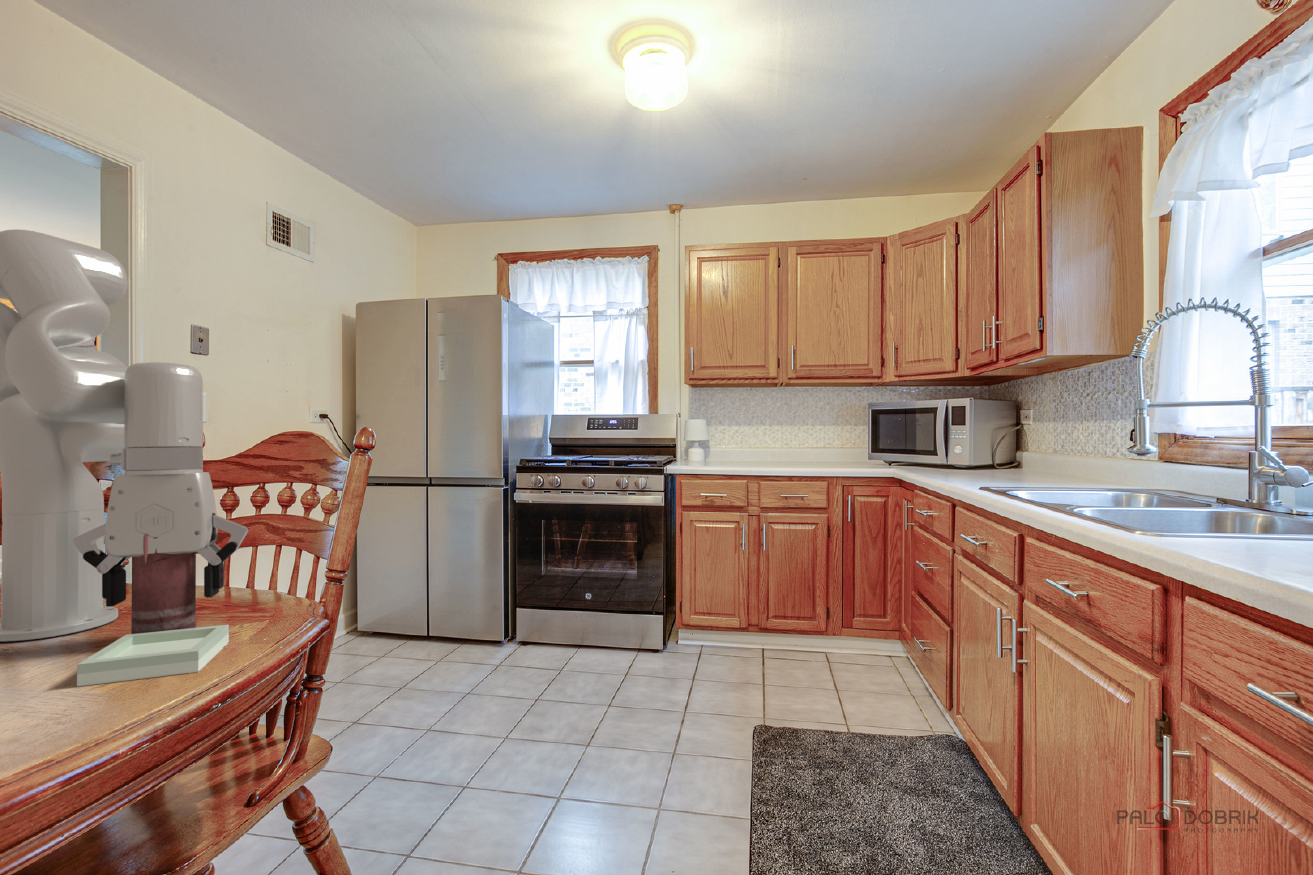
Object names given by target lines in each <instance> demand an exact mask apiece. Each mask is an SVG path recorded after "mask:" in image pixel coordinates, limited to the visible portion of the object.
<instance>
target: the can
mask: <svg viewBox="0 0 1313 875" xmlns="http://www.w3.org/2000/svg"><path fill="white" fill-rule="evenodd" d="M148 536H149V535H148V534H146V533H145V535H144V537H143V551H144V555H143V556H139V557H131V632H130V634H138V633H149V632H159V631H169V630H179V629H189V628H197V627H196V618H197V617H196V616H197V615H196V612H197V611H196V610H197V609H196V607H197V604H196V603H197V602H196V601H197V600H196V598H197V597H196V596H197V593H196V592H197V591H196V590H197V582H196V581H197V580H196V579H197V578H196V577H197V571H196V570H197V551H196V552H192V553H183V554H165V553H157V548H156V551H155V553H152V554H148ZM156 538H158V537H154V539H156Z"/></svg>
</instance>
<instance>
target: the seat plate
mask: <svg viewBox="0 0 1313 875" xmlns="http://www.w3.org/2000/svg"><path fill="white" fill-rule="evenodd" d="M229 640H230V624H222V625H221V624H220V625H211V626H202V627H201V626H200V627H196V628H189V629H179V630H169V631H159V632H149V633H138V634H131V633H130V634H125V635H123V636H121V637H119V638H118V639H117V640H115V641H113V642H112V643H109V645H107V646H104V647H103V648H102V649H100V650H99V651H97V652H95V653H94V654H92V655H90V656H88V657H87V658H86V659H84V660H81V662H79V663H77V664H76V687H84V686H92V685H93V686H94V685H101V684H109V683H118V682H124V681H125V682H126V681H134V680H140V679H149V678H156V677H157V678H159V677H166V676H175V675H182V674H191V673H199V672H200V671H202V669H203V668H204V667H205V666H206V665H207V664H208V663H209V662H210V661H211V660H212V659H213V658H215V656H216V655H218V654H219V653H220V652H221V651H222V650H223V649H224V648H225V647H226V646H227V645H229V643H228V642H230V641H229ZM224 646H225V647H224ZM223 647H224V648H223Z"/></svg>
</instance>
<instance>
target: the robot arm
mask: <svg viewBox="0 0 1313 875" xmlns="http://www.w3.org/2000/svg"><path fill="white" fill-rule="evenodd" d="M127 274H128V273H127V272H126V269H125V267H124V266H123V264H122V263H121V262H120V261H119V260H118V259H117V258H116V257H115V256H114V255H112V254H111V253H109V252H107V251H105V250H104V249H102V248H101V249H100V248H97V247H94V246H92V245H91V246H90V245H87V244H83V243H79V242H76V241H71V240H68V239H64V238H61V237H58V236H54V235H50V234H47V233H43V232H39V231H34V230H28V229H17V228H16V229H6V230H1V231H0V299H3V300H7V301H9V302H10V304H12V306H13V308H14V309H15V310H14V309H13V308H11V307H10V306H8V305H7V304H5V303H3V302H1V301H0V478H1V522H2V523H1V589H0V590H1V595H0V596H1V597H0V598H1V599H0V601H1V603H0V604H1V605H0V607H1V608H0V609H1V610H0V642H18V641H20V642H21V641H29V640H39V639H45V638H51V637H58V636H63V635H68V634H73V633H78V632H83V631H86V630H90V629H94V628H97V627H100V626H103V625H106V624H109V623H111V622H114V621H115V620H116V619H118V617H119V609H118V608H117V607H116V605H118V604H121V603H122V602H124V601H126V600H127V570H126V568H122V565H123V564H125V562H126V561H127V560H128V559H129V558H132V557H139V556H143V555H144V551H143V537H144V535H145V533H146V534H148V535H149V536H148V554H152V553H155V551H156V548H157V553H165V554H183V553H192V552H196V553H198V554H199V555H200V556H201V557H202V558H203V559H204V560H206V561H207V565H206V566H204V568H203V596H204V598H206V599H208V598H210V599H211V598H213V597H215V596H216V595H217V594H219V592H220V590H221V589H223V587H224V584H225V582H224V580H225V579H224V574H225V573H224V571H225V570H224V569H225V568H224V566H225V565H224V562H226V560H228V558H230V556H232V555H233V554H234V553H235V552H236V551H237V550H239V548H240V547H241V544H242V543H243V541H244V540H245V537H247V534H248V532H249V528H248V527H247V526H245V525H242V524H239V523H238V522H235V521H232V520H229V519H227V518H225V517H221V516H219V515H217V507H216V506H217V505H216V499H215V492H214V489H213V483H212V480H211V479H212V478H211V475H210V472H209V471H208V472H206V471H204V456H203V455H204V447H203V446H204V444H203V443H204V440H203V439H204V438H203V437H204V435H203V433H204V428H203V425H204V420H203V419H204V413H203V412H204V411H203V410H204V408H203V407H204V406H203V402H204V398H203V397H204V396H203V393H204V392H203V391H204V390H203V385H204V384H203V377H202V373H201V372H200V371H199V370H198V369H197V368H195V367H193V366H192V365H191V366H190V365H187V364H180V363H173V362H171V363H170V362H162V361H161V362H160V361H159V362H158V361H157V362H156V361H155V362H151V361H149V362H144V361H143V362H137V363H133V364H130V365H129V366H128V365H125V364H124V362H122V361H121V360H119V358H117V357H115V356H114V355H112V354H110V353H108V352H104V351H102V350H98V349H93V348H88V347H80V346H76V345H79V344H83V343H85V342H88V341H91V340H93V339H95V338H97V337H98V336H100V335H101V334H103V332H105V330H107V328H108V327H109V326H110V324H111V323H110V322H111V311H110V308H109V307H111V306H113V305H115V304H117V303H119V302H120V301H121V300H122V299H124V297H125V296H126V292H127V290H128V285H129V284H128V283H129V282H128V275H127ZM74 345H75V346H74ZM91 462H93V463H94V462H109V463H110V464H111V465H112V466H114V465H116V466H117V465H118V466H120V467H121V468H122V470H123V471H124V474H115V476H114V479H113V482H112V485H111V489H110V495H109V499H108V505H107V511H106V512H107V513H106V521H105V502H104V501H105V497H104V491H103V489H102V486H101V484H100V483H99V481H98V480H97V479H96V477H94V475H93V474H92V473H91V472H90V470H89V469H88V468H87V467H86V466H85V465H84V463H91ZM218 530H219V531H220V530H221V531H223V532H226V533H228V534H230V538H229V539H228V541H227V543H226V544H225V545H223V547H222V548H221V547H220V546H219V545H217V544H216V542H217V540H218ZM154 537H158V538H156V539H154ZM104 549H105V550H104ZM104 600H105V605H104ZM114 606H115V607H114Z"/></svg>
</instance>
